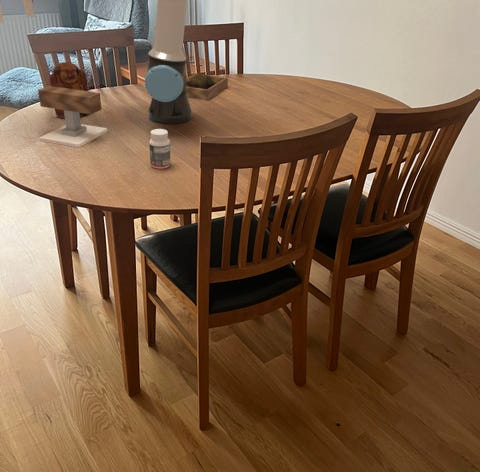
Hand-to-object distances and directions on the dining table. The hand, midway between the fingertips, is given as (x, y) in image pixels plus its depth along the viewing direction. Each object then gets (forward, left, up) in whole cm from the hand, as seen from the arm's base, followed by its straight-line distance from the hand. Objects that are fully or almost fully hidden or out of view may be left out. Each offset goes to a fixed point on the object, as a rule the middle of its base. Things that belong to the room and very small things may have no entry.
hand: (15, 19), depth 150 cm
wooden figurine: (-5, -15, -33) cm, 37 cm away
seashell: (-32, -66, -33) cm, 80 cm away
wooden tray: (-33, -64, -33) cm, 79 cm away
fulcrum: (-17, +2, -33) cm, 37 cm away
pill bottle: (-52, +12, -33) cm, 63 cm away
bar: (-17, +2, -24) cm, 29 cm away
